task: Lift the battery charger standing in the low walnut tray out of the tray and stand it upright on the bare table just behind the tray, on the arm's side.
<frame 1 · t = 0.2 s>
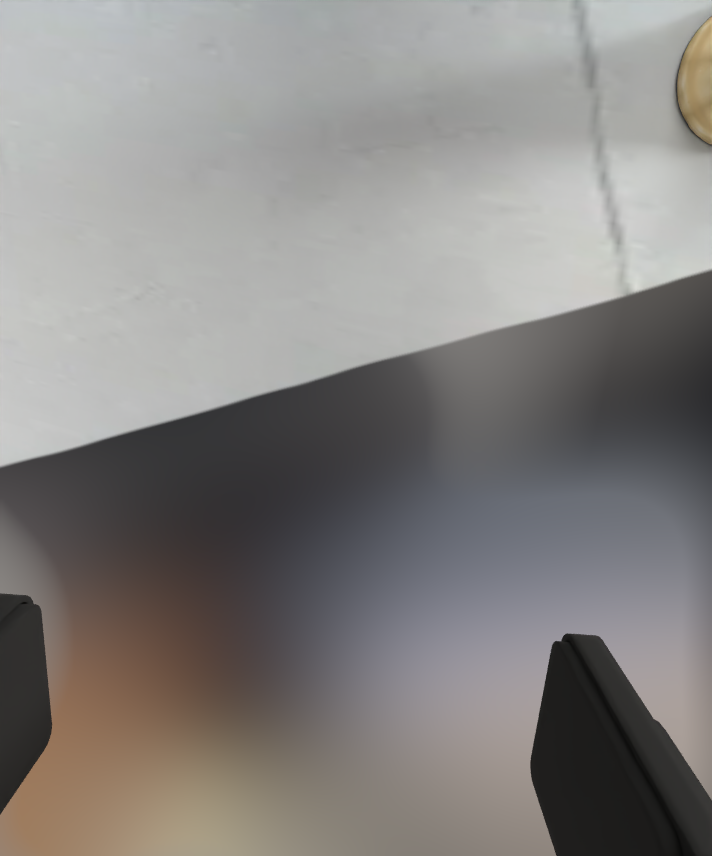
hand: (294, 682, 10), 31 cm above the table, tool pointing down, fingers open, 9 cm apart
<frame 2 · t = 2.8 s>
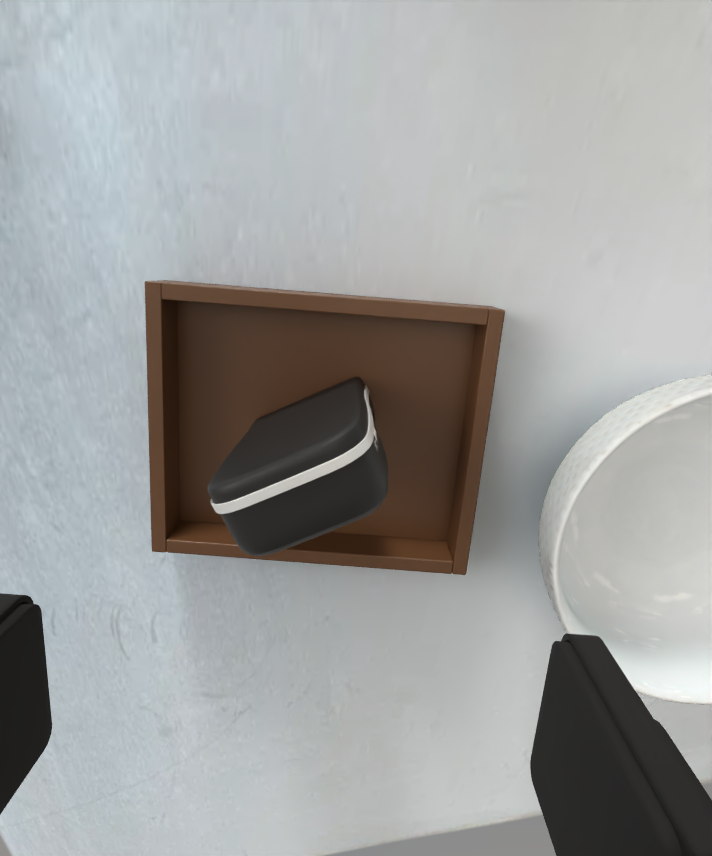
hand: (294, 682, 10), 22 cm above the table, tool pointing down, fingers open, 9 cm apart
cereal bowl: (655, 498, 33), on the table
tray: (320, 424, 32), on the table
battery charger: (320, 425, 32), resting on tray
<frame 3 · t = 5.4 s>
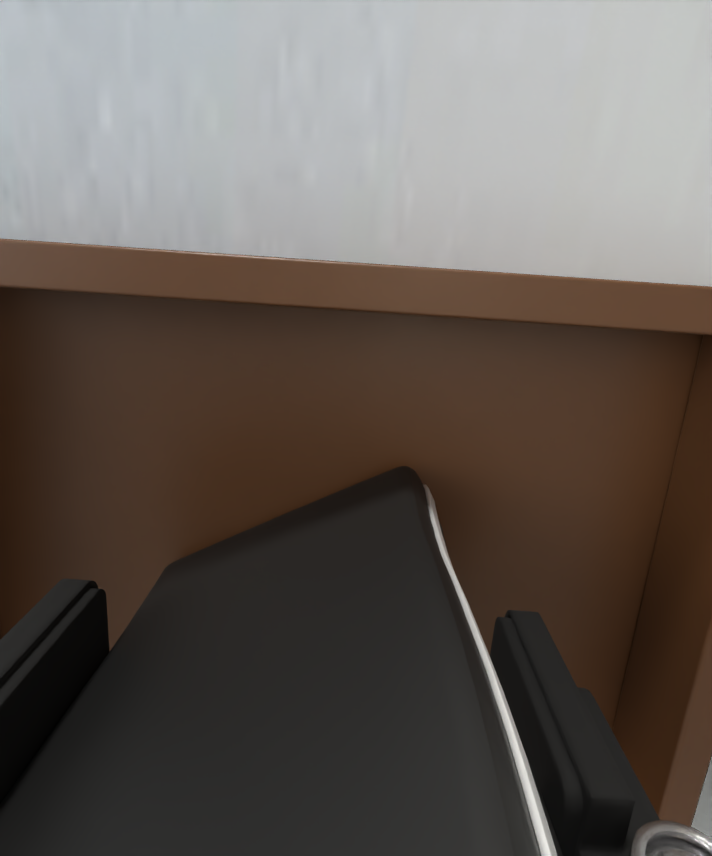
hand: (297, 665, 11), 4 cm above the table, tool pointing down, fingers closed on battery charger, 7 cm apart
tray: (317, 566, 14), on the table
battery charger: (318, 569, 14), resting on tray, touching gripper
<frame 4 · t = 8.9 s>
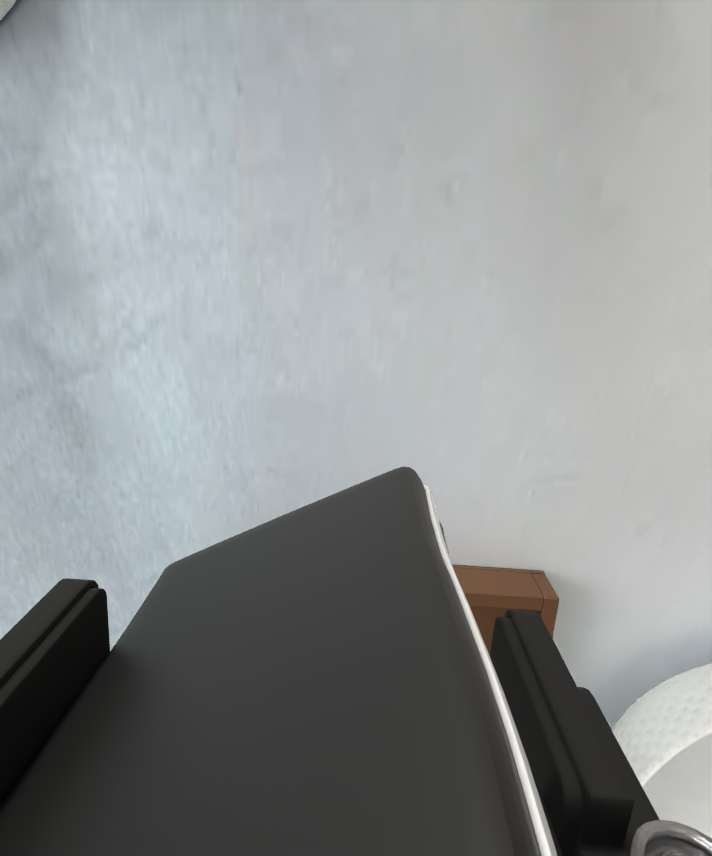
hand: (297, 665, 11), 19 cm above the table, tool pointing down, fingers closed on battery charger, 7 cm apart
cereal bowl: (701, 734, 34), on the table
tray: (376, 671, 33), on the table
battery charger: (319, 570, 14), point 16 cm above the table, touching gripper
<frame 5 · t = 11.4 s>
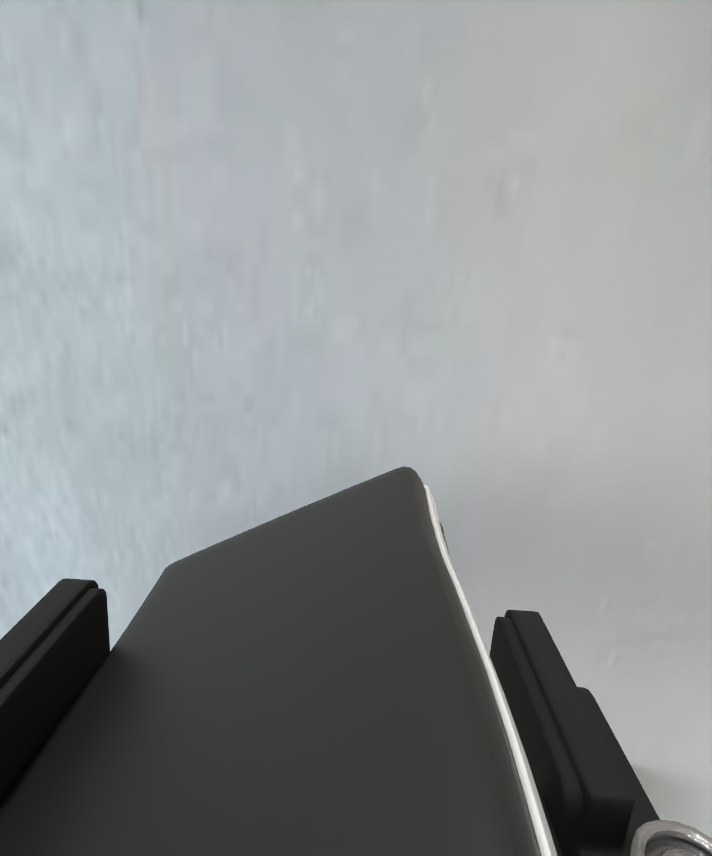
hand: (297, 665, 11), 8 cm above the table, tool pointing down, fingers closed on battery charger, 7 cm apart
battery charger: (319, 570, 14), point 4 cm above the table, touching gripper
when the fingers open (3 cm above the table, at t = 13.0 s): battery charger stays where it is, on the table.
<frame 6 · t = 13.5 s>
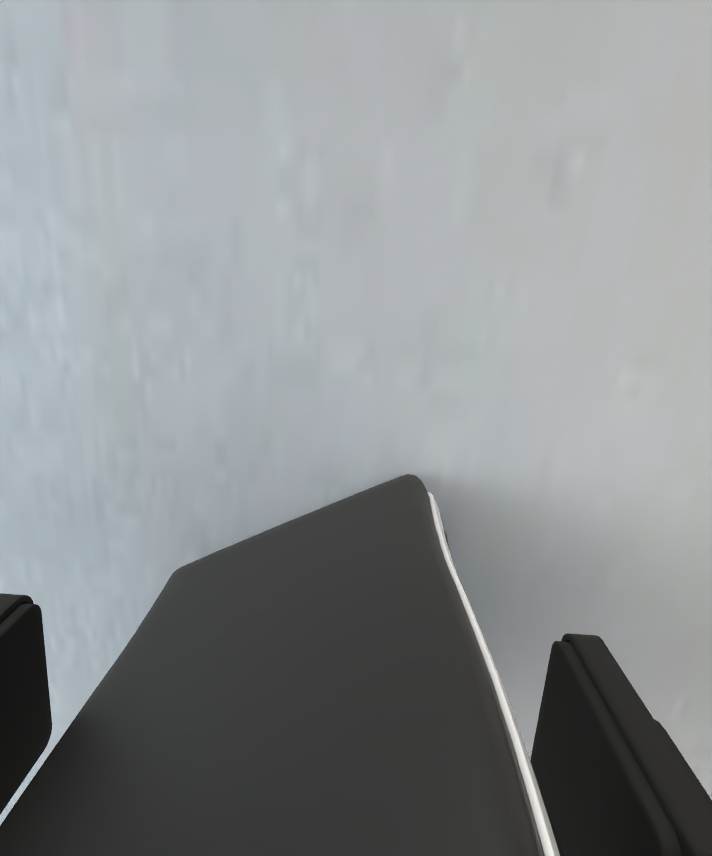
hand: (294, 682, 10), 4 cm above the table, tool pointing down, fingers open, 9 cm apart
battery charger: (324, 575, 14), on the table
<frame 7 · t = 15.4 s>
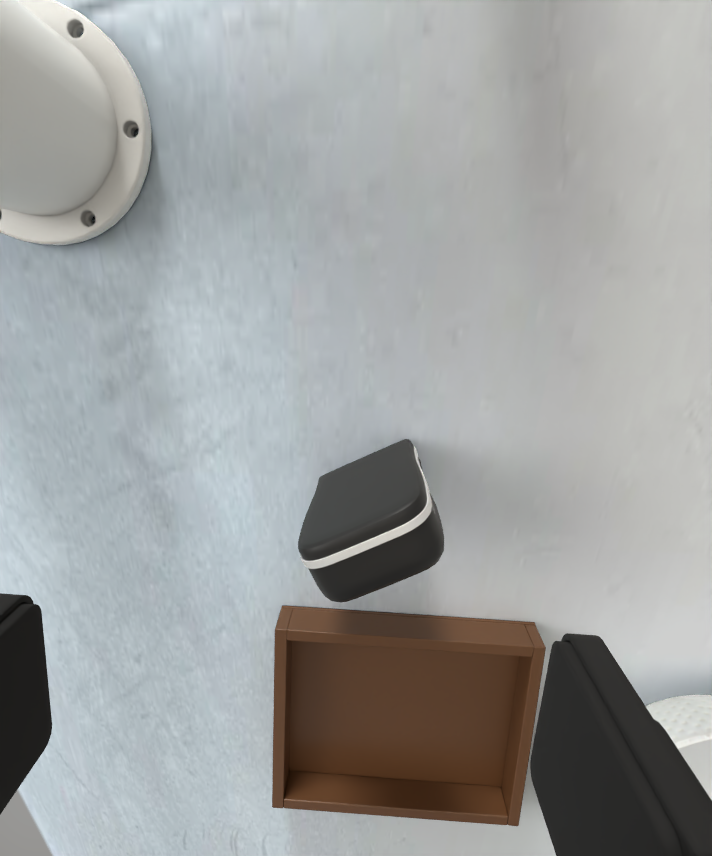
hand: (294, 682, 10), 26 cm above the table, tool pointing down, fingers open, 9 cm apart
cereal bowl: (668, 754, 41), on the table
tray: (400, 702, 40), on the table
battery charger: (375, 479, 37), on the table
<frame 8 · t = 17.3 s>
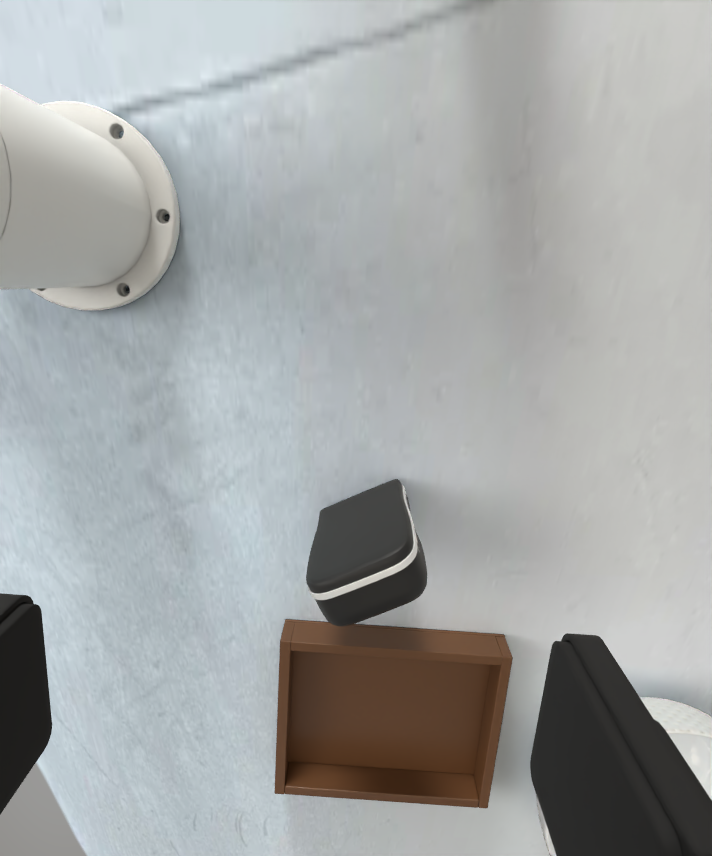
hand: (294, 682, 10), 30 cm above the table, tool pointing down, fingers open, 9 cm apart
cereal bowl: (617, 746, 47), on the table
tray: (387, 702, 46), on the table
battery charger: (368, 512, 42), on the table
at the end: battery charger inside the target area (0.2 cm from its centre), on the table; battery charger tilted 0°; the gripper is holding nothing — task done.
